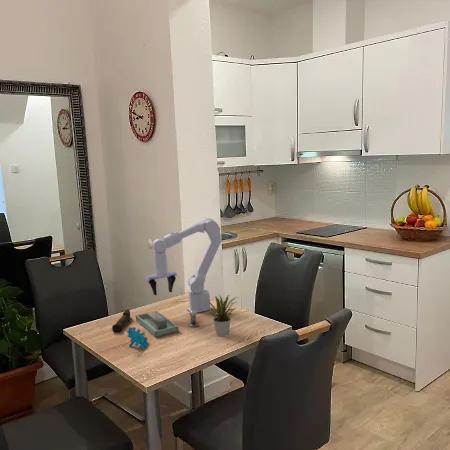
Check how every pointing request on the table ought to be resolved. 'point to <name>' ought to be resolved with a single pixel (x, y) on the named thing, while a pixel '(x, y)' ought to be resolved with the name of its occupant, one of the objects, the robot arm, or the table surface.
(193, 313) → the stud post
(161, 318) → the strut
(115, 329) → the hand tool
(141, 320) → the bin tray
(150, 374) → the table surface
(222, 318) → the house plant
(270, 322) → the table surface
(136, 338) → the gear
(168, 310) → the table surface
